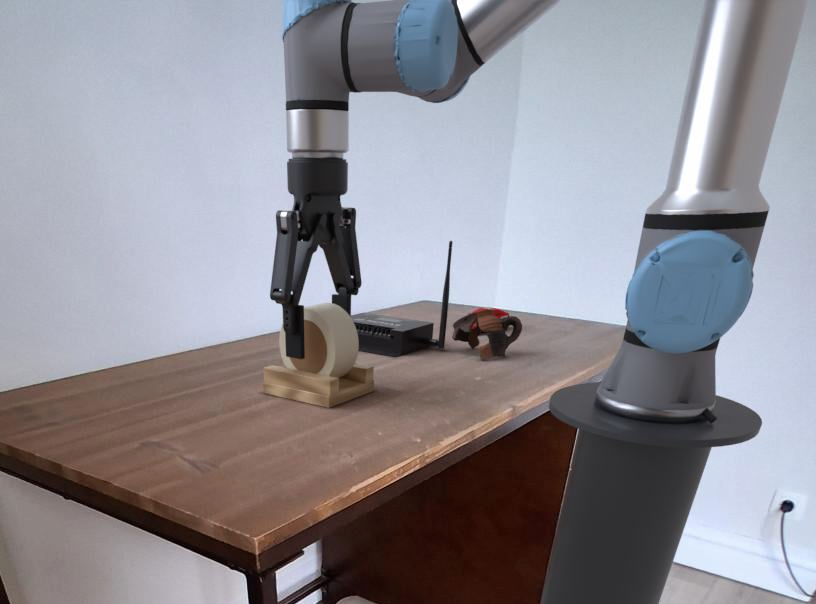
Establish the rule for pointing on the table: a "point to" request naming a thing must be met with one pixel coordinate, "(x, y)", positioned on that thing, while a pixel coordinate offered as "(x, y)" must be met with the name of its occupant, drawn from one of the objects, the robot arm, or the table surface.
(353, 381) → the tape holder
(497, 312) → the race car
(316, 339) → the tape roll
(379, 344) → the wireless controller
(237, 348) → the table surface
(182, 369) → the table surface
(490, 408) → the table surface
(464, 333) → the pottery mug
